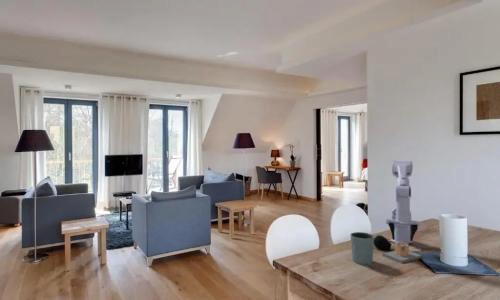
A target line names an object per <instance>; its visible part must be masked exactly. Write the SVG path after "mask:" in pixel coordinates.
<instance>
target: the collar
mask: <svg viewBox="0 0 500 300" xmlns="http://www.w3.org/2000/svg"><path fill="white" fill-rule="evenodd" d="M401 245H404V246H401ZM409 251H410V246H409V243H408V244H406V243H400V242H398V243H395V253H396V255H399V256H404V257H406V256H409Z"/></svg>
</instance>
